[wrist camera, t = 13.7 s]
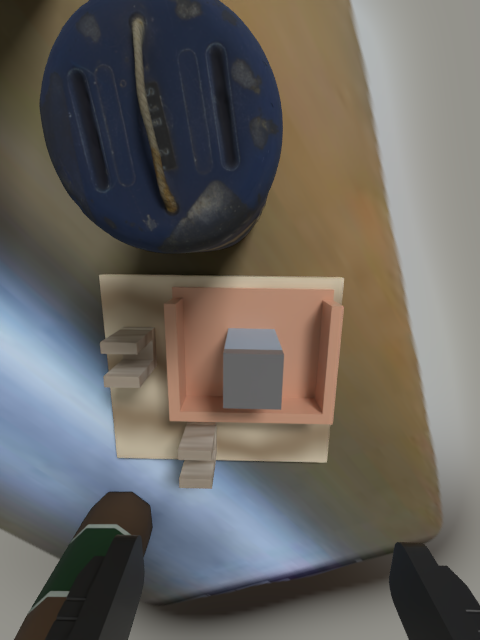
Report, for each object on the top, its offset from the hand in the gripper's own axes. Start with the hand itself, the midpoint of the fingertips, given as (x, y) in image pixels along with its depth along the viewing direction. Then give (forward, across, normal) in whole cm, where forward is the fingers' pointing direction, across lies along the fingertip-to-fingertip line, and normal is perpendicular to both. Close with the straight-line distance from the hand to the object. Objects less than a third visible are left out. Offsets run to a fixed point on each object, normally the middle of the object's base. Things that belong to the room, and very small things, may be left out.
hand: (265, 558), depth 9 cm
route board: (+22, +3, +3) cm, 22 cm away
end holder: (+20, 0, 0) cm, 20 cm away
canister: (+22, +4, -14) cm, 26 cm away
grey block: (+20, 0, 0) cm, 20 cm away
